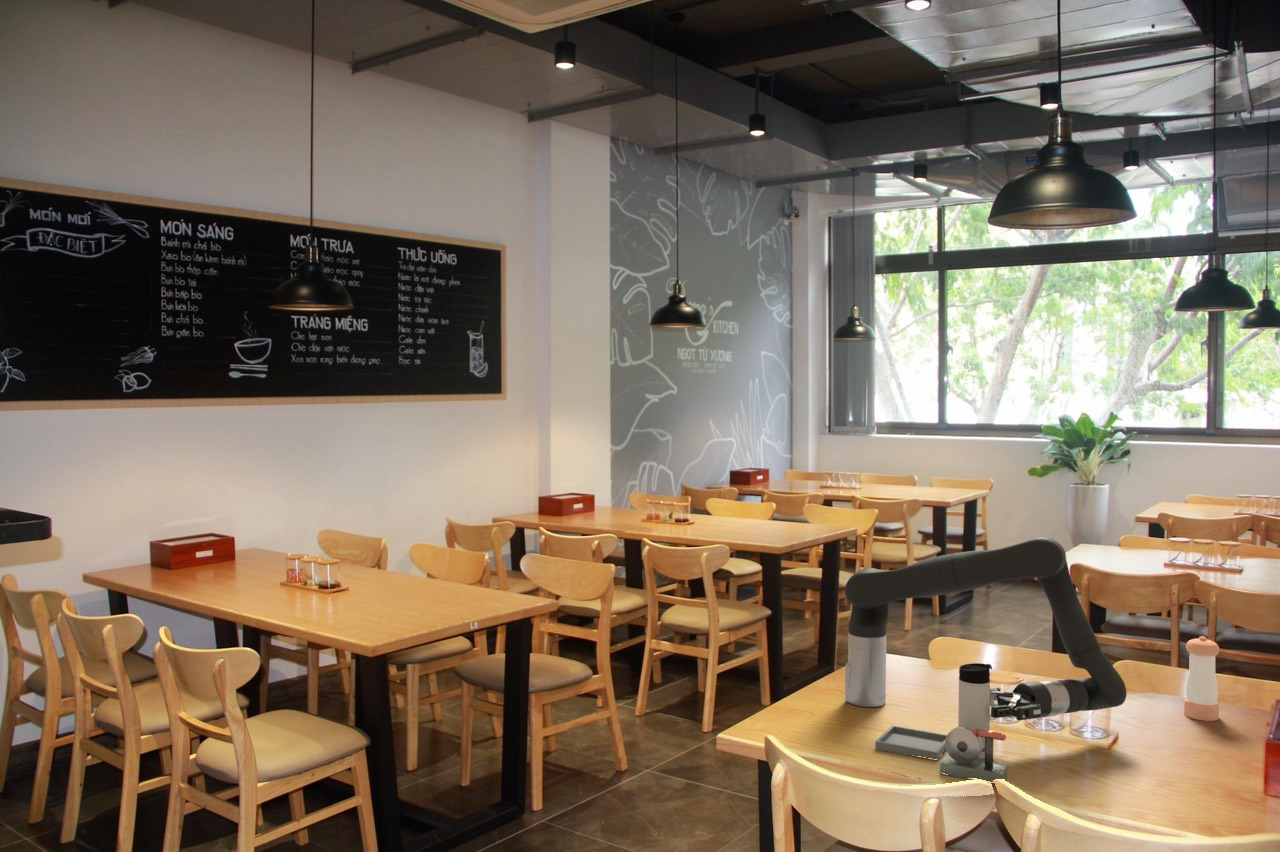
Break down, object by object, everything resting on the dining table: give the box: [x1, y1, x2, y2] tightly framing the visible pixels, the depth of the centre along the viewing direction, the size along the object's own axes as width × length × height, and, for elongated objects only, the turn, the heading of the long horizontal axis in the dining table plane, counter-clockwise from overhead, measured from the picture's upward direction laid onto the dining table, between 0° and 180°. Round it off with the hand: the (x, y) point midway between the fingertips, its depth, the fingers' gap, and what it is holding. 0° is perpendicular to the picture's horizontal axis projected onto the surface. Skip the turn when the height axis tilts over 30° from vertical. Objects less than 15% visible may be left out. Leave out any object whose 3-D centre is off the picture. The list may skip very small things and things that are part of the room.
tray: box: [874, 724, 948, 760], centre depth 217 cm, size 13×12×2 cm
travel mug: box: [957, 662, 993, 762], centre depth 210 cm, size 6×7×20 cm
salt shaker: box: [1183, 635, 1220, 722], centre depth 238 cm, size 7×7×19 cm
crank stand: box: [939, 726, 1008, 782], centre depth 201 cm, size 12×5×10 cm, turn 59°
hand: (978, 706), depth 210 cm, fingers open, 8 cm apart
